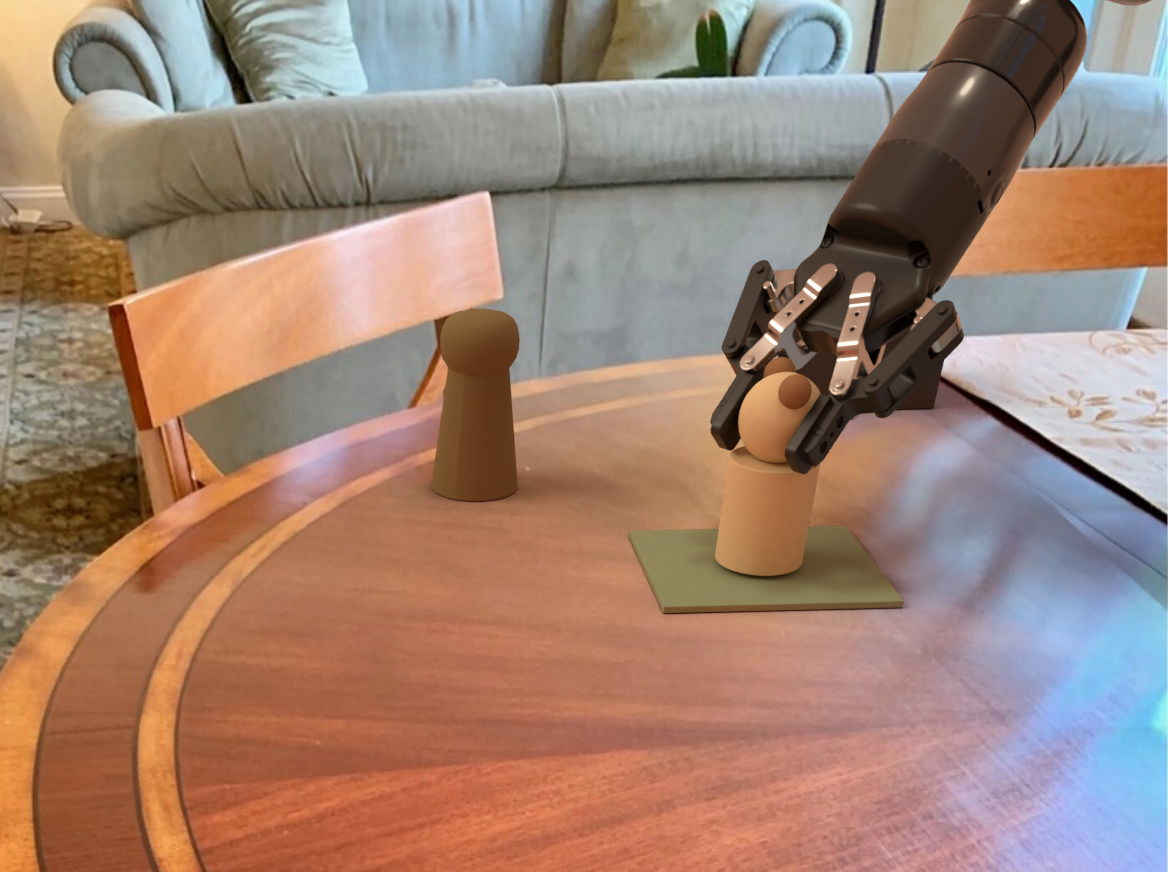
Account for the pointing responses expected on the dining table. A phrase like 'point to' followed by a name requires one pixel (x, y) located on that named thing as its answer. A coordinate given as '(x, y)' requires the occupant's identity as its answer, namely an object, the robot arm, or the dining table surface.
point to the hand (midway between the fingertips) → (757, 452)
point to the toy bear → (768, 478)
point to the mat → (703, 585)
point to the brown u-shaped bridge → (921, 398)
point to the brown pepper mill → (477, 407)
